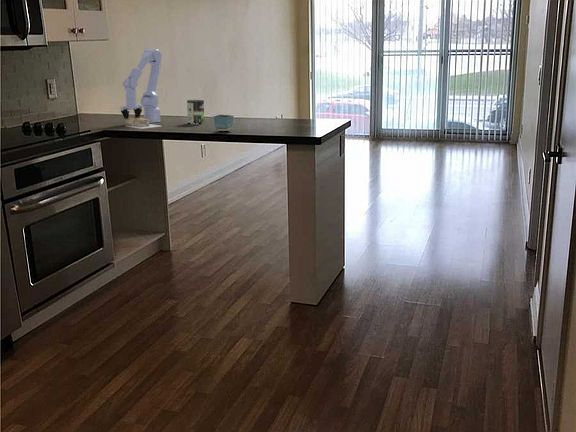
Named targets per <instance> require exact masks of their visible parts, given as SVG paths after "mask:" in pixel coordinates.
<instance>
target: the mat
mask: <svg viewBox="0 0 576 432" xmlns="http://www.w3.org/2000/svg"><path fill="white" fill-rule="evenodd" d="M125 127H126V128H127V127H128V128H132V129H133V128H134V129H141V130H143V129H151V128H158V127H161V125H158V124H151V123H149V126H147V127H141V126H125Z"/></svg>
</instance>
